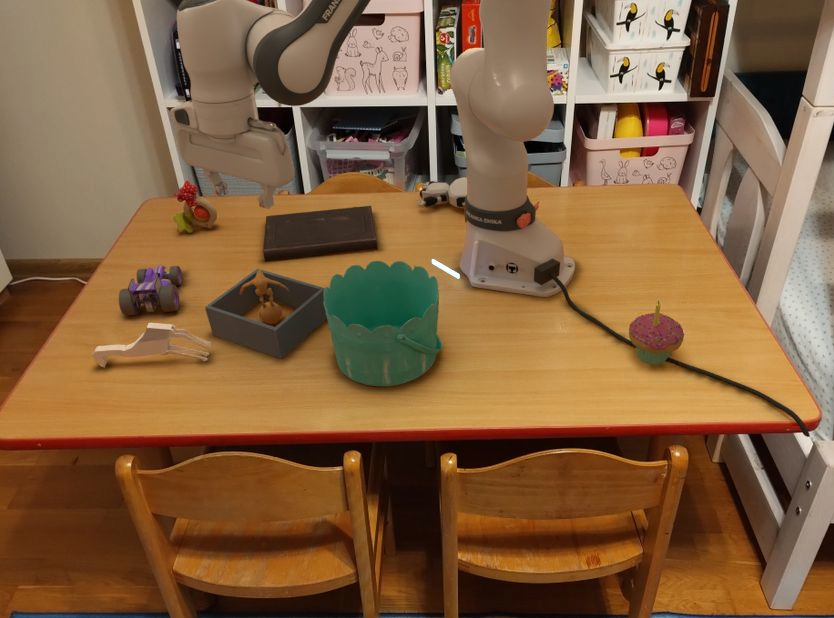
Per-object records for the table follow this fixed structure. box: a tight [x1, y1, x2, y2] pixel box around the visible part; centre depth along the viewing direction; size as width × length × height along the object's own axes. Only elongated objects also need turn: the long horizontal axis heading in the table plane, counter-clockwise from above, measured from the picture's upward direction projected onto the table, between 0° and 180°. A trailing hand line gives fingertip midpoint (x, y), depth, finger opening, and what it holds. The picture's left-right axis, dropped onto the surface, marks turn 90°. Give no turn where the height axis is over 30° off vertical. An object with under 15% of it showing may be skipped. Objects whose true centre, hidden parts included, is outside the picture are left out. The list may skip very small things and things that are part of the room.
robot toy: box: [416, 176, 467, 210], centre depth 162 cm, size 12×4×15 cm
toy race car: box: [118, 265, 183, 316], centre depth 135 cm, size 10×15×6 cm, turn 6°
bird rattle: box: [173, 179, 218, 234], centre depth 155 cm, size 6×11×9 cm
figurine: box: [240, 269, 289, 325], centre depth 124 cm, size 8×6×12 cm
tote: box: [204, 268, 327, 360], centre depth 126 cm, size 15×14×6 cm
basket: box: [323, 260, 443, 387], centre depth 116 cm, size 19×18×13 cm
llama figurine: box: [91, 322, 213, 368], centre depth 119 cm, size 2×11×18 cm
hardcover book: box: [262, 205, 379, 262], centre depth 152 cm, size 16×23×2 cm
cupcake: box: [628, 300, 685, 366], centre depth 113 cm, size 9×8×12 cm
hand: (243, 200), depth 113 cm, fingers open, 8 cm apart
